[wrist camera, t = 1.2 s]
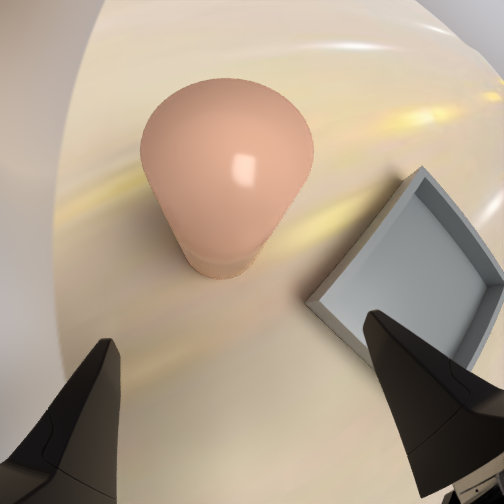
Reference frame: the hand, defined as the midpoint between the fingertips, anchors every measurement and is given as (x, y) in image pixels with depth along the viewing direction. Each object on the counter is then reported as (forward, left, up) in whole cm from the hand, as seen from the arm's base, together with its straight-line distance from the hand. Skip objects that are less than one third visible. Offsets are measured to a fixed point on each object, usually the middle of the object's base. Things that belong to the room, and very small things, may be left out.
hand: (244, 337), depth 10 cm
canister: (+5, -4, -13) cm, 14 cm away
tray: (-11, -13, -13) cm, 21 cm away
